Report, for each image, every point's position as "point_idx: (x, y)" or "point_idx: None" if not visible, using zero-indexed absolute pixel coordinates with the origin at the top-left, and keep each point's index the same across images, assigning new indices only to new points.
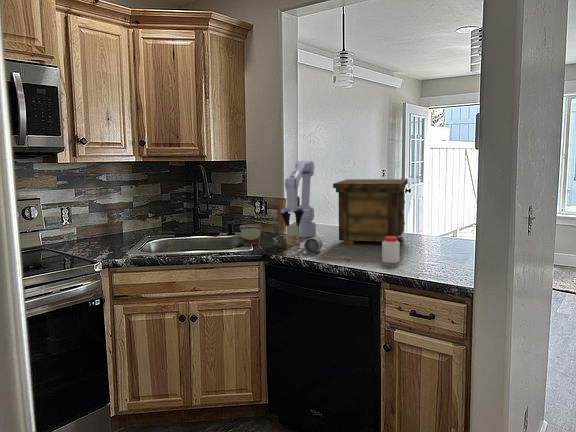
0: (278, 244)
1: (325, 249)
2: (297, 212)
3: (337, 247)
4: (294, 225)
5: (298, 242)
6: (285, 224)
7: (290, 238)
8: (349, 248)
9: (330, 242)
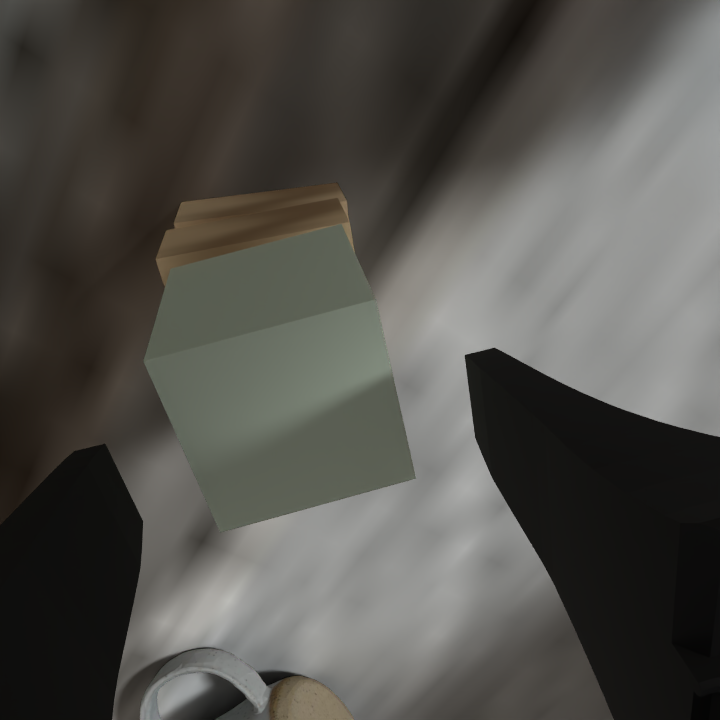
0: (29, 169)
1: (418, 672)
2: (656, 682)
3: (563, 646)
4: (374, 382)
5: None
6: (56, 470)
7: None
8: (605, 704)
9: (713, 430)
